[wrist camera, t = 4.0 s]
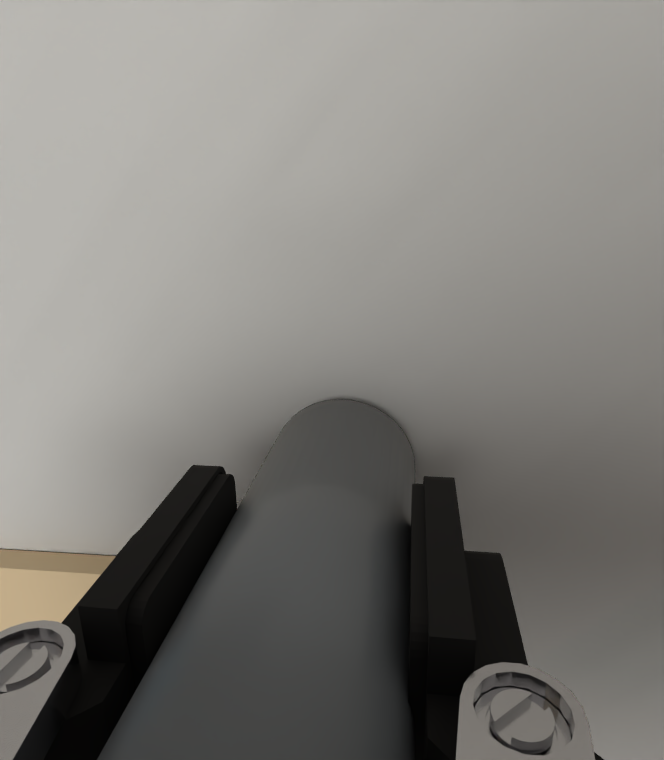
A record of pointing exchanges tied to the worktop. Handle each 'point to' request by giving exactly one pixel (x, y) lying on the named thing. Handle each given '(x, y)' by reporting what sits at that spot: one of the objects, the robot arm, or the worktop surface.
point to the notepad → (44, 584)
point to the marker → (295, 611)
